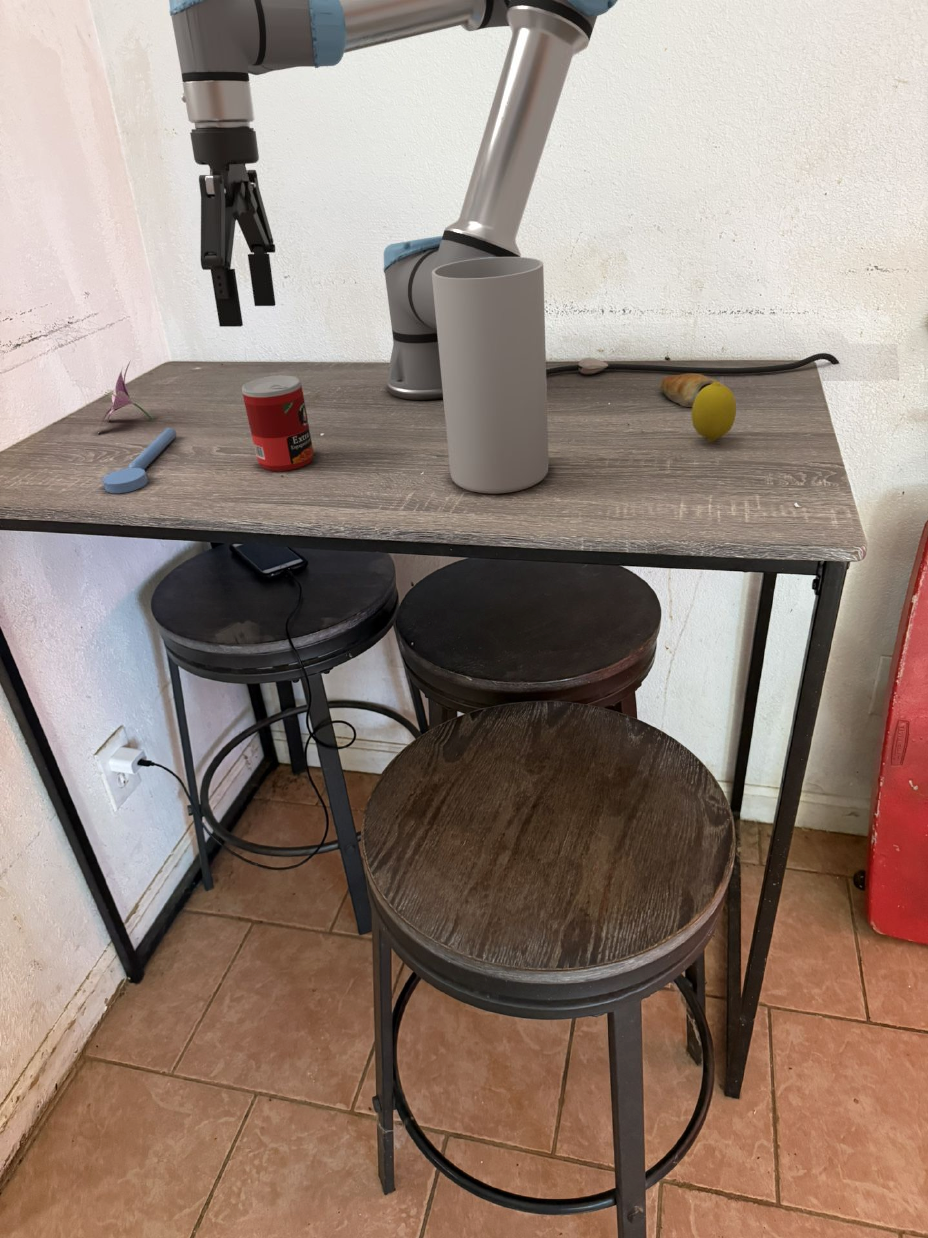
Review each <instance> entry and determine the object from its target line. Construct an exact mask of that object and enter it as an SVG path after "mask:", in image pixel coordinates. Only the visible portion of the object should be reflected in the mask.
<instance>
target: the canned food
mask: <svg viewBox="0 0 928 1238" xmlns="http://www.w3.org/2000/svg"><path fill="white" fill-rule="evenodd" d="M241 391H242V397H243V402H244V407H245V412H246V416H247V420H248V421H247V422H248V425H249V430H250V434H251V439H252V443H253V447H254V452H255V456H256V461H257V462H258V464H259V466H260V467H261V468H262V469H264V470H267V471H271V472H286V471H292V470H296V469H297V470H298V469H300V468H303V467H305V466H307V465H309V464H310V463H311V462H312V461H313V459H314V453H315V451H314V448H313V442H312V441H313V440H312V436H311V431H310V425H309V419H308V413H307V406H306V402H305V396H304V391H303V386H302V383H301V379H300V378H299V377H297V376H294V375H293V376H292V375H284V374H283V375H281V374H280V375H270V376H264V377H258V378H256V379H252V380H249V381H247V382H246V383H244V384H243V385H242V386H241Z"/></svg>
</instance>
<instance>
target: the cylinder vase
mask: <svg viewBox="0 0 928 1238" xmlns="http://www.w3.org/2000/svg"><path fill="white" fill-rule="evenodd" d="M544 273H545V272H544V262H543V261H542V260H540V259H538V258H532V257H524V256H523V257H522V256H521V257H492V258H480V259H472V260H465V261H459V262H454V263H450V264H446V265H443V266H440V267H437V268H435V269H434V270H433V271H432V281H433V292H434V303H435V314H436V324H437V335H438V346H439V357H440V368H441V378H442V389H443V398H442V399H443V409H444V411H443V412H444V421H445V431H446V432H445V433H446V441H447V452H448V453H447V454H448V463H449V473H450V477H451V480H452V481H453V482H454V483H455V485H456V486H458V487H460V488H462V489H463V490H466V491H469V492H474V493H480V494H488V495H489V494H491V495H492V494H493V495H494V494H495V495H496V494H508V493H515V492H519V491H524V490H526V489H529V488H531V487H534V486H535V485H537V484H538V483H540V482H542V480H544V479H545V478H546V476H547V474H548V472H549V468H550V467H549V465H550V464H549V438H548V437H549V431H548V393H547V392H548V391H547V390H548V389H547V375H546V369H547V355H546V354H547V353H546V352H547V351H546V350H547V349H546V320H545V319H546V318H545V317H546V316H545V315H546V313H545V312H546V311H545V279H544V275H545V274H544Z"/></svg>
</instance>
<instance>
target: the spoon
mask: <svg viewBox="0 0 928 1238" xmlns="http://www.w3.org/2000/svg"><path fill="white" fill-rule="evenodd" d="M176 437H177V431H176V429H174V428H173V427H167V428H165V429H164V430H163V431H162V432H161V433H160V434H159V435H157V437H156V438H154V440H153V441H152V442H151V443H150V444H149V445H148V446H146V448H145V449H144V450H142V452H140V454H139V455H137V456H136V458H135V459H134V460H132V461H131V462H130V463H129V465H128V467H127V468H121V469H118V470H114V471H111V472H109V473H107V474H106V475H105V476H103V478H102V483H103V487H104V490H105V491H106V492H107V493H110V494H125V493H131V492H134V491H136V490H139V489H141V488H143V487H145V486H146V485H147V484H148V483H149V480H148V477H147V473H146V470H145V469H146V468H147V467H148V466H149V465H150V464H152V462H153V461H154V460H155V459H156V458H157V457H158V456H159V455H160V454H161V453H162V452H163V451H164V450H165V449H166V448H167V447H168V446H169V444H170V443H172V441H174V439H175V438H176Z"/></svg>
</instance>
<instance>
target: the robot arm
mask: <svg viewBox="0 0 928 1238" xmlns="http://www.w3.org/2000/svg"><path fill="white" fill-rule="evenodd" d="M618 1H619V0H168V2H169V16H170V17H171V22H172V28H173V29H172V30H173V33H174V40H175V45H176V51H177V57H178V61H179V67H180V73H181V82H182V87H183V93H181V97H180V99H181V101H182V102H183V103H185V106H186V114H187V119H188V122H189V123H190V124H194V128H192V129H191V131H190V132H189V135H190V141H191V146H192V147H191V148H192V153H193V160H194V162H195V163H196V164H197V165H200V166H208V167H209V174H199V176H198V183H199V185H198V186H199V192H200V193H199V194H200V266H201V269H202V270H203V271H210V275H211V276H210V277H211V281H212V288H213V293H214V300H215V305H216V312H217V318H218V323H219V324H218V326H219V327H220V328H221V327H223V328H225V327H231V328H232V327H234V328H235V327H238V328H240V327H243V326H244V323H243V316H242V309H241V302H240V296H239V290H238V283H237V275H236V269H235V268H232V261H233V251H234V250H233V249H234V241H235V233H236V232H235V231H236V221H237V224H238V226H239V228H240V231H241V233H242V235H243V238H244V240H245V242H246V245H247V247H248V250H249V252H250V253H248V254H247V261H248V267H249V275H250V281H251V289H252V296H253V297H252V298H253V303H254V304H253V305H254V307H275V306H276V298H275V297H276V296H275V289H274V282H273V274H272V266H271V257H270V253H276V244H275V243H274V237H273V234H272V231H271V227H270V223H269V219H268V216H267V212H266V208H265V205H264V202H263V198H262V194H261V191H260V185H259V180H258V173H257V170H256V169H247V167H246V165H250V164H257V162H259V160H260V154H259V147H258V139H257V131H256V130H255V129H254V127H251V122H254V121H255V112H254V104H253V97H252V89H251V82H250V75H253V76H260V75H264V74H268V73H271V72H274V71H281V70H282V71H283V70H287V69H293V68H299V67H300V68H303V67H306V68H307V67H309V68H315V69H318V68H321V67H334V66H337V65H338V64H339V63H340V62H341V61H342V59H343V57H344V54H347V53H351V52H355V51H359V50H363V49H368V48H372V47H376V46H380V45H384V44H389V43H393V42H396V41H397V42H398V41H400V40H405V39H409V38H412V37H418V36H422V35H425V34H430V33H435V32H438V31H442V30H446V29H451V28H455V27H459V26H460V27H461V28H462V29H463V30H464V31H467V32H475V31H479V30H483V29H490V28H502V27H503V28H504V27H509V28H510V30H511V39H510V42H509V45H508V48H507V52H506V55H505V59H504V62H503V66H502V69H501V73H500V76H499V79H498V83H497V86H496V89H495V92H494V96H493V101H492V103H491V106H490V110H489V113H488V117H487V121H486V124H485V128H484V131H483V135H482V138H481V141H480V145H479V148H478V152H477V155H476V158H475V162H474V166H473V169H472V172H471V175H470V179H469V182H468V186H467V190H466V193H465V196H464V199H463V203H462V206H461V211H460V213H459V217H458V219H457V220H456V221H455V222H453V223H451V224H449V225H448V226H446V227H444V230H443V234H442V235H437V236H432V237H426V238H418V239H413V240H407V241H406V240H405V241H401V242H396V243H395V242H394V243H391V244H389V245H387V246H386V247H385V248H384V250H383V267H382V268H383V274H384V278H385V279H384V280H385V287H386V292H387V293H386V294H387V303H388V309H389V318H390V326H391V332H392V333H391V334H392V350H391V355H390V361H389V365H388V368H387V369H388V371H387V376H386V377H387V379H386V383H387V391H388V393H389V394H391V395H392V396H394V397H395V398H399V399H405V400H412V401H413V400H415V401H425V400H426V401H427V400H438V399H439V400H440V399H443V389H442V378H441V368H440V357H439V346H438V335H437V324H436V314H435V303H434V292H433V281H432V271H433V270H434V269H435V268H437V267H440V266H443V265H446V264H450V263H454V262H459V261H465V260H472V259H480V258H492V257H522V254H521V251H520V248H519V246H518V244H517V236H518V232H519V229H520V227H521V223H522V220H523V217H524V214H525V210H526V207H527V204H528V200H529V197H530V194H531V192H532V188H533V184H534V182H535V178H536V175H537V173H538V172H537V171H538V169H539V166H540V162H541V159H542V156H543V153H544V149H545V146H546V144H547V140H548V137H549V133H550V131H551V127H552V123H553V120H554V117H555V114H556V110H557V108H558V105H559V101H560V98H561V95H562V93H563V88H564V86H565V82H566V79H567V76H568V73H569V70H570V66H571V64H572V60H573V58H574V56H576V55H578V54H580V53H581V52H582V51H584V50H587V48H588V46H589V45H590V44H589V43H590V41H591V37H592V34H593V32H594V28H595V26H596V22H597V19H598V16H602V15H604V14H606V13H607V12H609V10H610V9H612V8H613V7H614V6H615V5H616V4H617V2H618ZM249 74H250V75H249ZM820 360H825V361H828V362H830V363H831V364H832V365H839V364H840V361H839V359H838V358H837V357H835V356H834V355H833V354H830V353H827V352H820V353H816V354H812V355H810V356H807V357H806V358H803V359H801V360H797V361H795V362H790V363H786V364H785V363H784V364H776V365H766V366H765V365H764V366H749V367H746V366H745V367H701V366H676V365H661V364H660V365H659V364H636V363H635V364H634V363H633V364H631V363H607V364H608V366H607V367H606V368H604V369H603V370H602V371H635V372H636V371H638V372H661V373H677V374H688V373H689V374H694V373H695V374H702V375H742V374H743V375H750V374H751V375H752V374H765V373H766V374H767V373H776V372H777V373H778V372H786V371H792V370H796V369H799V368H802V367H805V366H807V365H809V364H811V363H814V362H816V361H820ZM579 368H580V369H582V368H583V367H581V366H579V364H573V365H571V364H570V365H562V366H561V365H560V366H556V367H555V366H554V367H552V368H546V376H550V375H554V374H560V373H568V372H580V371H579Z"/></svg>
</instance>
